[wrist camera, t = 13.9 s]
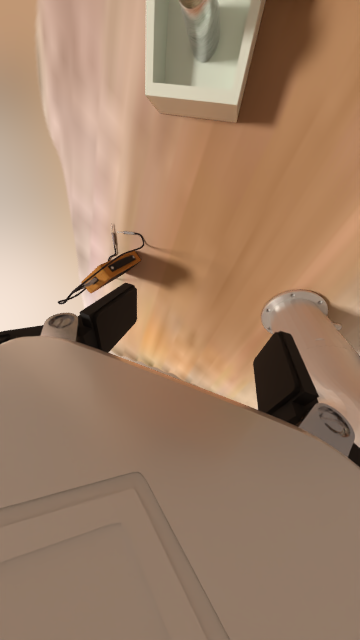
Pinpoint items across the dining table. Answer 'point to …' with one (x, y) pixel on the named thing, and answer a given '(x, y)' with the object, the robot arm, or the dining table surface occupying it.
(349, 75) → the dining table surface
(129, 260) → the multimeter
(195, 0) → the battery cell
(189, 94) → the white open box
